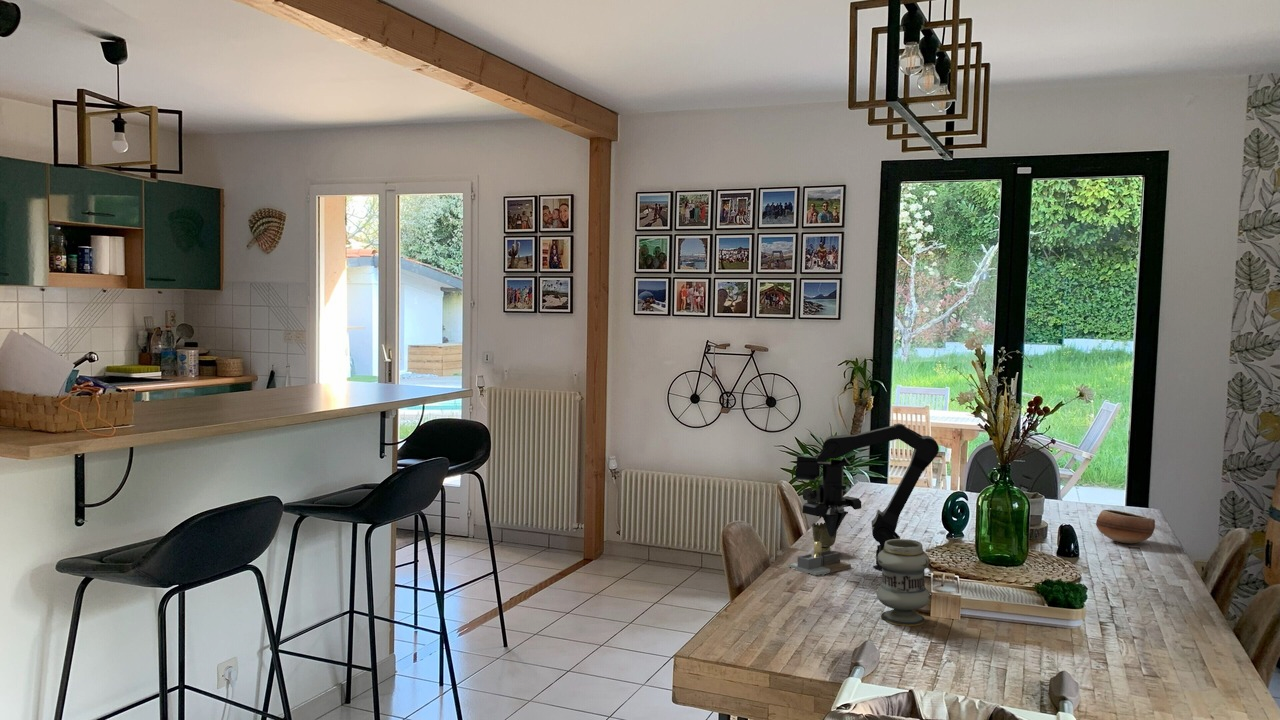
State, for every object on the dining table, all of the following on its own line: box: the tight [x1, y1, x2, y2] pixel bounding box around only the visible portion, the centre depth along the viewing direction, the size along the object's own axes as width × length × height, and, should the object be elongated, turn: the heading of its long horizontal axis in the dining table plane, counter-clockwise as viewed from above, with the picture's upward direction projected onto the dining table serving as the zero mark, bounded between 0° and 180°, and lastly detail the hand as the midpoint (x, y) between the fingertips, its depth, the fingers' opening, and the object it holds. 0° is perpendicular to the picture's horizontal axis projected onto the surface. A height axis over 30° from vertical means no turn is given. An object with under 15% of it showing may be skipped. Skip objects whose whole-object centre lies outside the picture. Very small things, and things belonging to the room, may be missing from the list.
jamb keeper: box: [788, 553, 831, 576], centre depth 262 cm, size 10×6×4 cm, turn 37°
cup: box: [811, 522, 838, 552], centre depth 283 cm, size 8×7×8 cm
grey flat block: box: [821, 549, 852, 573], centre depth 266 cm, size 10×8×4 cm
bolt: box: [806, 541, 823, 565], centre depth 263 cm, size 2×6×6 cm, turn 127°
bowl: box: [1095, 509, 1156, 544], centre depth 296 cm, size 16×16×10 cm
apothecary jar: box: [876, 538, 931, 627], centre depth 220 cm, size 12×12×18 cm
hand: (831, 536), depth 267 cm, fingers closed
